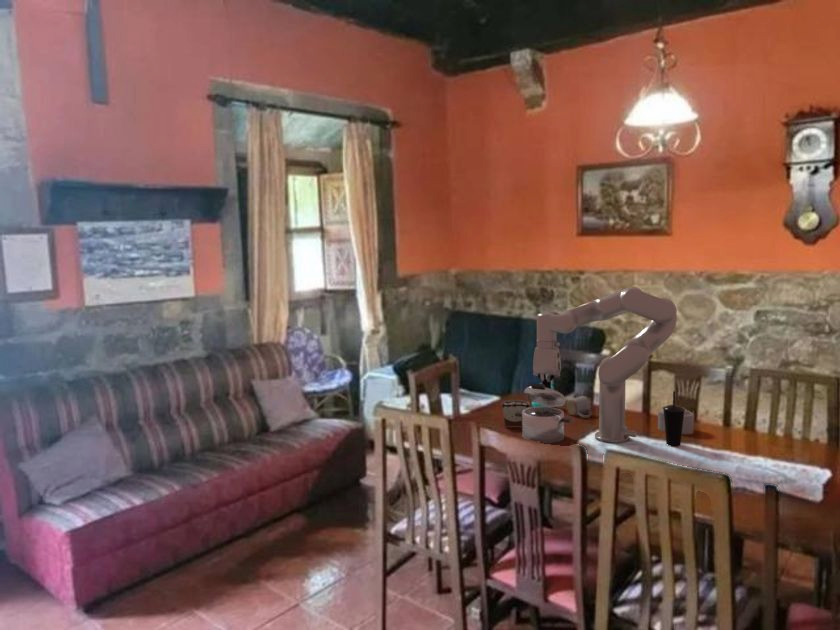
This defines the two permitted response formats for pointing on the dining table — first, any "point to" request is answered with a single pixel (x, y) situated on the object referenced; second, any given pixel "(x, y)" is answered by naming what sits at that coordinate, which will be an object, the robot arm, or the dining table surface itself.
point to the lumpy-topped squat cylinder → (687, 422)
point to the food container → (513, 412)
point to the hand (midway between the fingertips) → (546, 390)
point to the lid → (544, 395)
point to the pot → (543, 424)
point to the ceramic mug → (579, 406)
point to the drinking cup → (673, 423)
